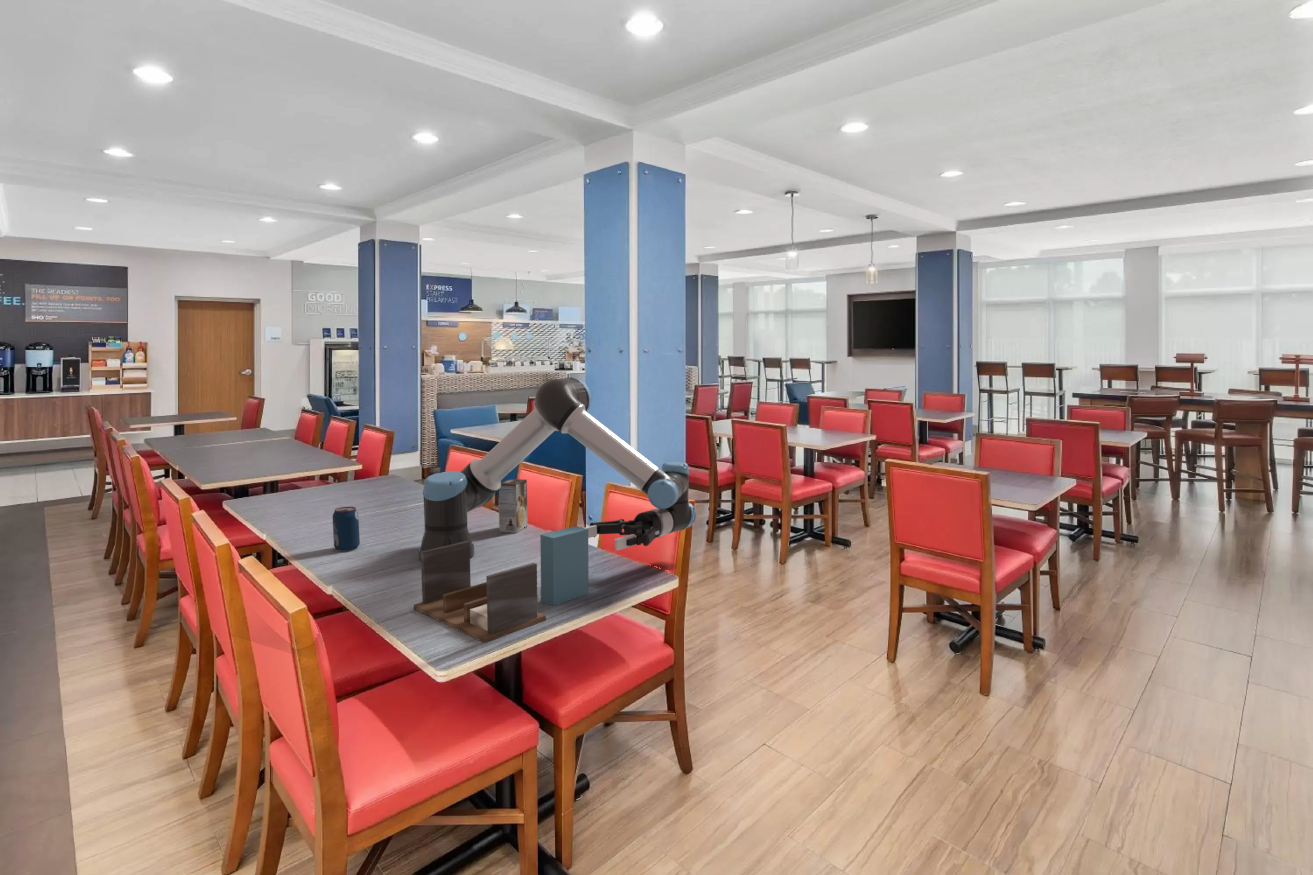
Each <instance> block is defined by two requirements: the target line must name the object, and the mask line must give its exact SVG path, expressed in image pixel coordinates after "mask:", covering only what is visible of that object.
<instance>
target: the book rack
mask: <svg viewBox="0 0 1313 875" xmlns="http://www.w3.org/2000/svg"><path fill="white" fill-rule="evenodd" d="M420 561H421V562H420V564H421V565H420V567H421V568H420V569H421V596H422V597H421V598H422V599H421V600H422V601H421V602H418V603H415V604H413V609H414V608H415V609H417V610H419V611H421V612H423V613H425V614H427V615H426V616H428V615H429V616H428V617H430V616H431V617H430V618H432V617H433V618H432V619H434V618H436V619H438V620H439V621H438V620H437V621H438V622H440V621H441V622H440V623H442V622H444V623H446V624H447V625H446V624H445V625H446V626H448V625H450V626H449V627H451V626H452V627H451V628H453V627H454V628H453V629H455V630H457V629H458V630H457V631H459V630H460V631H459V632H461V631H462V632H461V633H463V632H464V633H463V634H465V633H466V634H465V635H467V634H468V636H469V635H470V637H471V636H473V637H475V638H474V639H475V640H478V639H479V640H478V641H480V642H481V643H482V642H483V643H486V642H490V641H493V640H494V639H497V638H500V636H501V637H503V636H505V634H506V635H508V633H509V634H511V633H514V632H517V631H519V629H520V630H523V629H525V628H528V627H531V626H532V625H536V624H538V623H541V622H544V621H546V620H547V616H546V614H543V613H541V612H539V611H538V564H537V563H536V562H530V563H528V564H523V565H520V566H517V567H513V568H510V569H505V570H502V571H499V572H496V573H493V574H492V573H491V574H488V575H486V581H485V582H481V583H478V584H474V585H472V584H471V558H470V542H468V541H465V542H460V543H456V544H452V545H447V546H443V547H439V548H434V549H430V550H426V551H421V560H420ZM415 609H414V610H415ZM417 610H416V611H417ZM419 611H418V612H419ZM421 612H420V613H421ZM423 613H422V614H423ZM425 614H424V615H425ZM436 619H435V620H436ZM444 623H443V624H444ZM516 630H517V631H516ZM473 637H472V638H473Z"/></svg>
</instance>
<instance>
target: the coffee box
mask: <svg viewBox="0 0 1313 875" xmlns="http://www.w3.org/2000/svg"><path fill="white" fill-rule="evenodd" d="M527 482H528V479H523V478H522V479H521V478H519V479H517V478H509V479H506V480H505V481H501V487H500V488H499V489H498V490H497V492H498V524H499V525H498V528H499V530H498V532H499V533H509V532H510V533H511V534H518V533H519V532H520V531H522V530H524V529H525V528H527V527H528V525H529V524H528V488H527V487H528V483H527ZM526 526H527V527H526ZM524 527H525V528H524ZM517 532H518V533H517ZM510 533H509V534H510Z"/></svg>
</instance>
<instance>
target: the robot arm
mask: <svg viewBox="0 0 1313 875" xmlns="http://www.w3.org/2000/svg"><path fill="white" fill-rule="evenodd" d="M534 396H535V397H534V402H533V410H532V411H531V412H530V413H529V414H527V416H525V417H524V418H523V419H522V420H521V421H520V422H519V423H518V424H516V426H515V427H514V428H513V429H512V430H511V431H509V432H508V433H507V434H506V435H505V436H504V437H503V438H502V439H501V440H500V441H499V442H498V443H497V444H496V445H495V446H494V447H493V448H492V449H490V450H489V451H488V452H487V453H486V454H485V455H484V456H483V457H482V458H480V459H473V460H471V461H470V462H469V463H468V464H467V465H466V466H465V467H464V468H463V469H461V470H460V471H454V470H453V471H451V470H450V471H443V472H437V473H433V474H431V475H428V476H427V477H426V478H425V479H424V482H423V489H422V495H423V515H424V516H423V518H424V532H423V535H422V539H421V544H420V546H419V549H418V559H419V560H420V561H421V551H426V550H430V549H434V548H439V547H443V546H447V545H452V544H456V543H460V542H465V541H468V542H470V559H471V558H472V557H473V558H474V556H475V545H474V543H473V542H472V537H471V534H470V531H469V529H468V528H469V527H468V513H469V512H471V511H474V510H475V509H478V508H482V507H484V506H486V505H487V504H488V503H490V501H491V500H492V499H494V496H495V494H496V492H498V489H499V488H500V487H501V483H502V480H503V479H504V478H506V476H507V475H508V474H509V473H510V472H512V471H513V470H514V469H515V468H516V467H517V466H518V465H520V463H521V462H523V460H525V459H526V458H527V457H528V456H529V455H530V454H531V453H532V452H533V451H535V450H536V449H537V448H538V447H539V446H540V445H542V443H543V442H545V441H546V440H547V439H548V438H549V436H551V435H552V434H553V433H554V432H555V431H556V432H560V433H561V434H568V435H570V436H571V437H572V438H574V439H575V440H577V442H579V443H580V444H581V445H583V446H584V448H587V449H588V450H589V451H590V452H591V453H592V454H594V455H596V457H597V458H599V459H600V460H602V461H603V462H604V463H605V464H607V465H608V466H609V467H611V468H612V469H614V471H616V472H617V473H618V474H619V475H620V476H622V477H623V478H625V479H626V480H627V481H628V482H630V483H632V485H633V486H635V487H636V488H638V489H639V490H640V491H641V492H643V493H644V494H645V495H646V496H647V499H648V501H649V503H650V505H652V506H653V507H654V508H653V509H650V510H646V511H643V512H640V513H638V514H636V516H635V517H634V519H631V520H630V519H629V520H627V521H626V520H625V519H623V518H619V519H616V520H607V521H597V522H590V523H589V526H587V527H585V528H586V529H588V539H590V538H596V537H597V536H598V535H611V534H612V535H613V534H614V535H615V534H618V535H620V537H617V538H614V551H620V550H624V549H627V548H629V547H634V546H636V545H637V546H641V545H642V546H644V547H647V546H649V545H650V544H651V543H652V542H653V541H654V540H655V539H656V538H660V539H661V538H662V536H665V535H668V534H672V533H676V532H679V531H683V530H685V529H688V528H690V527H692V526H693V525H694V524H695V522H696V520H697V512H696V510H695V507H694V505H693V504H692V503H691V502H690V501H689V500H690V499H689V491H690V490H689V489H690V488H689V487H690V486H689V485H690V483H689V482H690V480H689V479H690V478H689V477H690V473H689V471H690V470H689V465H688V463H687V462H683V461H668V462H664V463H663V464H661V465H662V466H661V469H660V467H658V466H657V465H656V464H654V463H653V462H652V461H651V460H650V459H648V458H647V457H645V456H644V455H643V454H641V452H639V451H638V450H637V449H635V448H634V447H633V446H632V445H631V444H629V443H627V442H626V441H625V440H624V439H622V438H621V437H620V436H618V435H617V434H616V433H615V432H613V431H612V430H611V429H610V428H608V427H607V426H606V425H604V424H603V423H602V422H600V421H599V420H598V419H597V418H596V417H594V416H593V415H592V414H591V413H590V412H588V411H589V409H590V407H591V404H592V394H591V390H590V388H589V386H588V385H587V384H586V383H585V382H584V381H582V380H581V379H578V378H574V377H569V376H568V377H567V376H566V377H563V378H553V379H549V380H547V381H545V382H543V383H542V384H541V385H540V386H539V387H538V389H537V390H536V393H535V395H534ZM688 501H689V502H688ZM693 508H694V520H693ZM621 536H622V537H621Z"/></svg>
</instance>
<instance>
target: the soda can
mask: <svg viewBox="0 0 1313 875" xmlns="http://www.w3.org/2000/svg"><path fill="white" fill-rule="evenodd" d="M359 517H360V516H359V513H358V511H357V508H356V507H354V506H341V507H336V508H335V509H334V512H333V513H332V533H333V535H332V536H333V547H334V549H336V551H338V552H351V551H355V550H358V548H359V546H360V545H361V540H360V521H359Z"/></svg>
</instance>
